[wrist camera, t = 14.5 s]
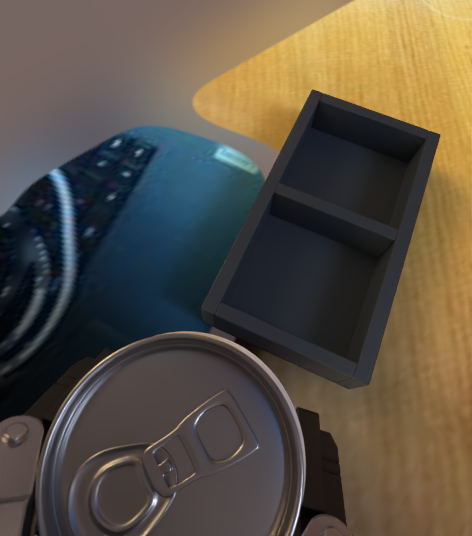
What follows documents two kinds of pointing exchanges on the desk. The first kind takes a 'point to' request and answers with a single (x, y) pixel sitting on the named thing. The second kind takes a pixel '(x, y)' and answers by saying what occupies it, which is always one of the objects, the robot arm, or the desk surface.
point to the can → (173, 446)
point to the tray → (326, 241)
